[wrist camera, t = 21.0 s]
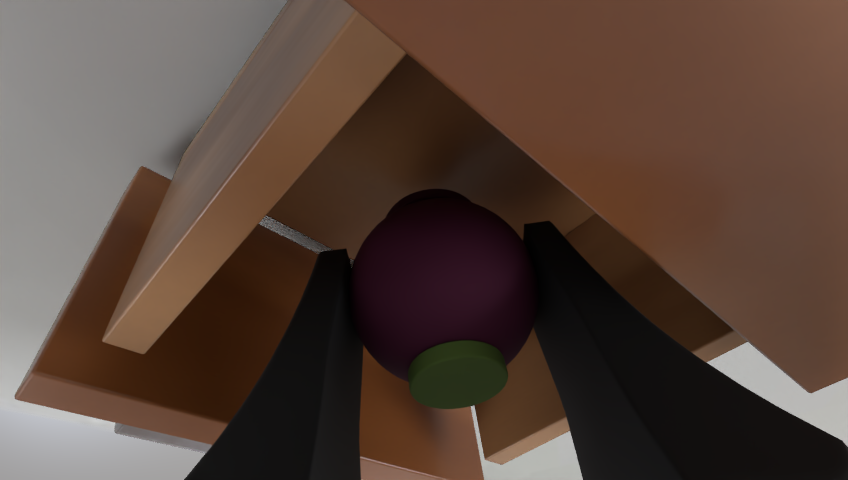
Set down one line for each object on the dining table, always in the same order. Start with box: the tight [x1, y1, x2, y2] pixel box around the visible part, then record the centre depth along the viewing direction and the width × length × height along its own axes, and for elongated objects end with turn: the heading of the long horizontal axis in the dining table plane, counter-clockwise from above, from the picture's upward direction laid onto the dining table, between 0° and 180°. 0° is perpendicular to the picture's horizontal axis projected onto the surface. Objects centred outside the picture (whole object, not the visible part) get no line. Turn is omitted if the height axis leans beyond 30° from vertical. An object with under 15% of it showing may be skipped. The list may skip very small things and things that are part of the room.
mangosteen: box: [349, 189, 539, 409], centre depth 12 cm, size 4×4×5 cm
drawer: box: [15, 0, 748, 480], centre depth 14 cm, size 17×13×7 cm
